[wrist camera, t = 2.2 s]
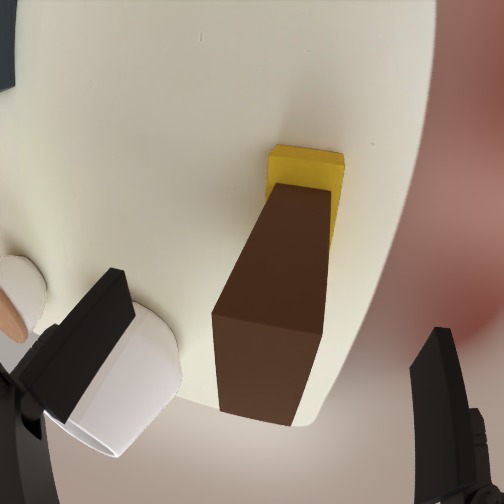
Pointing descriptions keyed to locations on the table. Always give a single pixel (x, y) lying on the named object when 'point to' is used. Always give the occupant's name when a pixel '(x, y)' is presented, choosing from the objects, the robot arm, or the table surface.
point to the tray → (7, 43)
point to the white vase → (128, 387)
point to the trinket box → (20, 297)
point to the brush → (278, 289)
